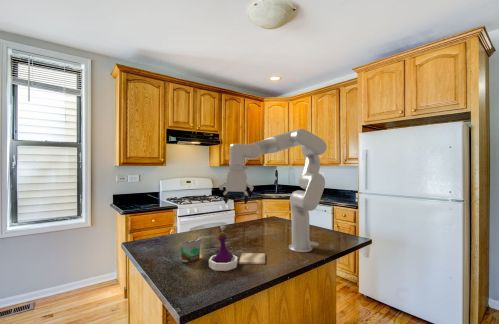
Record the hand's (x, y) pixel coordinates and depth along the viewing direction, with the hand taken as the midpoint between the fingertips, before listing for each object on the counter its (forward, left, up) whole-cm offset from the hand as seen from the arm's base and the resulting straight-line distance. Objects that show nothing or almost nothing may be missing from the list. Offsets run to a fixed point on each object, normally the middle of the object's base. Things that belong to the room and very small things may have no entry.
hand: (235, 203), depth 126 cm
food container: (+20, +5, -27) cm, 34 cm away
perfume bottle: (+5, +9, -27) cm, 29 cm away
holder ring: (+5, +9, -27) cm, 29 cm away
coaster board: (-8, +2, -27) cm, 28 cm away
